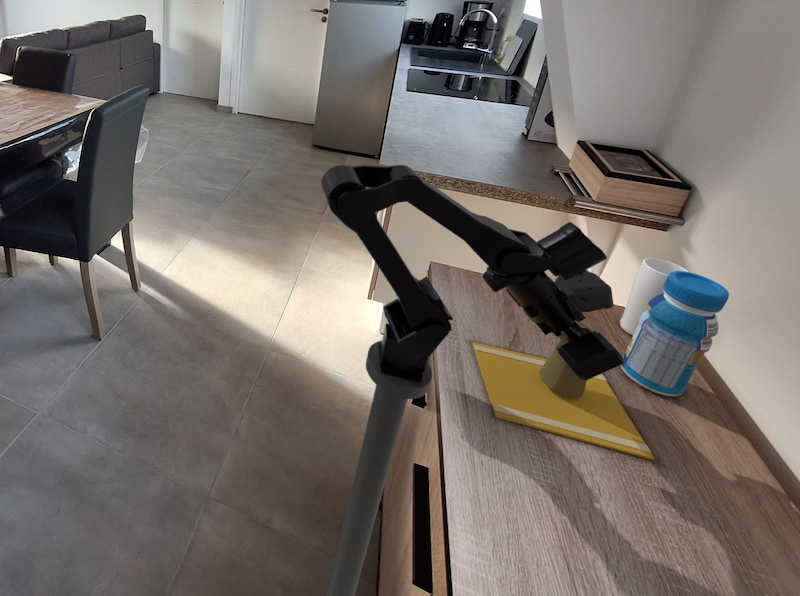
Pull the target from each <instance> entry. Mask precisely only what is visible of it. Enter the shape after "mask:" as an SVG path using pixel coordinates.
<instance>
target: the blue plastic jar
mask: <svg viewBox="0 0 800 596" xmlns="http://www.w3.org/2000/svg"><path fill="white" fill-rule="evenodd" d="M663 292H664V293H662V294H660V295H658V296H656V297H654V298H652V299H651V300H650V301H649V302H648V304H647V309H648V310H646V311H644V312H643V313H642V314H641V316H640V318H639V324H638V326H637V328H636V331H635V333H634V335H633V336H632V337H631V339H630V341H629V344H628V345H627V348H626V350H625V352H624V353H623V354H622V355H621V356H622V357H623V358H624V361H623V364H622V365H620V368H621V369H622V371H623V372H624V374H625V375H626V376H627V377H628V378H630V379H631V380H632V381H633V382H635V383H636V384H638V385H639V386H641V387H642V388H644V389H646V390H648V391H650V392H653V393H656V394H658V395H661V396H666V397H678V396H681V395H682V394H684V392H685V390H686V389H687V386H688V383H689V381H690V379H691V377H692V376H693V374H694V372H695V371H696V369H697V367H698V365H699V364H700V362H701V360H702V358H703V357H704V355H705V353H707V352H709V351H710V350H711V348H712V345H713V338H714V337H716V335H718V333H719V321H718V318H717V315H716V314H718V313H720V312H722V310H723V309H724V307H725V306H726V304H727V302H728V300H729V297H730V292H729V290H728V289H727V288H725V287H724V286H723V285H721V284H720V283H718V282H716V281H715V280H713V279H710V278H708V277H706V276H703V275H700V274H697V273H694V272H690V271H689V272H685V271H673V272H671V273H670V274H669V275H668V277H667V279H666V281H665V283H664V286H663Z"/></svg>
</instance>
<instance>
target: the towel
mask: <svg viewBox="0 0 800 596" xmlns="http://www.w3.org/2000/svg"><path fill="white" fill-rule="evenodd" d="M471 344H472V348H473V350H474V353H475V357H476V360H477V363H478V367H479V369H480V373H481V375H482V379H483V382H484V385H485V388H486V391H487V394H488V397H489V401H490V404H491V408H492V410H493V413H494V417H495V418H498V419H501V420H505V421H507V422H512V423H515V424H519V425H523V426H526V427H530V428H533V429H537V430H541V431H544V432H548V433H552V434H556V435H559V436H563V437H567V438H570V439H572V440H577V441H581V442H585V443H589V444H591V445H592V444H593V445H595V446H600V447H603V448H606V449H610V450H614V451H618V452H620V453H621V452H622V453H624V454H627V455H628V454H629V455H632V456H635V457H640V458H643V459H646V460H650V461H655V457H654V456H653V454H652V451H651V449H650V448H649V446H648V445H647V444H646V442H645V441H644V439H643V437H642V436H641V434H640V433H639V431H638V430H637V428H636V426H635V425H634V423H633V421H632V420H631V418H630V416H629V415H628V414H627V412H626V410H625V408H624V407H623V405H622V404H621V402H620V400H619V399H618V397H617V396H616V394H615V393H614V391H613V390H612V387H611V386H610V384H609V382H608V380H607V378H606V377H605V375H603V373H602V374H600V375H597V376H595V377H593V378H591V379H588V380H587V381H586V386H585V390H584V394H583V396H581V397H579V398H572V397H567V396H565V395H562V394H560V393H558V392H556V391H554V390H553V389H551V388H550V387H549V386H547V385H546V384H545V383H544V382H543V380H542V379H541V377H540V374H539V371H540V369H541V368H542V366H543V365H544V364H545V362H546V361H547V359H548V358H544V357H539V356H534V355H531V354H526V353H523V352H517V351H513V350H509V349H505V348H502V347H501V348H500V347H496V346H492V345H489V344H484V343H480V342H475V341H472V343H471Z"/></svg>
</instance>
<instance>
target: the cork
mask: <svg viewBox="0 0 800 596" xmlns="http://www.w3.org/2000/svg"><path fill="white" fill-rule="evenodd" d="M576 323H577V324H578V325H579V326H580V327H581V328H588V329H590V330H591V331H592V332H594V331H595V330H594V329H592V328H590V326H587V325H585V324H582V323H580V322H576ZM570 329H571V330H572V331H573V332H574V333H575V334H576V332H575V331H574V330H573V329H572V328H571V327H570ZM562 333H563V334H564V336H563V337H561V338H559V342H558V343H557V344H556V346H555V348H554V349H553V350H552V352H551V353H550V355H549V356H548V358H546V359H547V361H546V362H545V364H544V365H543V366H542V368H541V369H540V371H539V374H540V377H541V379H542V380H543V382H544V383H545V384H546V385H547V386H549V387H550V388H551V389H553V390H554V391H556V392H558V393H560V394H562V395H565V396H567V397H572V398H579V397H581V396H583V394H584V390H585V386H586V381H587V380H582V379H579V377H578V376H577V375H576V374H575V373H574V371H573V370H572V369H571V368H570V367H569V365H568V364H567V363H566V362H565V361H564V359H563V358H562V357H561V356H560V355H559V353H558V351H557V350H556V349H559V348H560V347H561V346H562V345H564V344H566V343H568V342H567V340H566V339H565V338H567V337H568V336H567V335H566V334H565V333H564V332H563V331H562Z"/></svg>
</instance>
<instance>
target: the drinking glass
mask: <svg viewBox="0 0 800 596" xmlns="http://www.w3.org/2000/svg"><path fill="white" fill-rule="evenodd" d="M673 271H685V272H690V271H689V270H687V269H686V268H684V267H682V266H680V265H678V264H676V263H675V262H672V261H668V260H666V259H661V258H657V257H646V258H644V259H642V262H641V263H640V265H639V267H638V269H637V271H636V274H635V276H634V279H633V282H632V285H631V288H630V290H629V291H630V292H629V294H628V298H627V301H626V304H625V307H624V310H623V314H622V316H621V318H620V320H619V326H620V327H621V329H622V330H623V331H625V332H626V334H629V335H631V336H632V337H633V335H634V333H635V331H636V328H637V326H638V324H639V318H640V316H641V314H642V313H643V312H644V311H646V310H648V309H647V304H648V302H649V301H650V300H651V299H652V298H654V297H656V296H658V295H660V294H662V293H664V292H663V286H664V283H665V281H666V279H667V277H668V275H669V274H670V273H671V272H673Z"/></svg>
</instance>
